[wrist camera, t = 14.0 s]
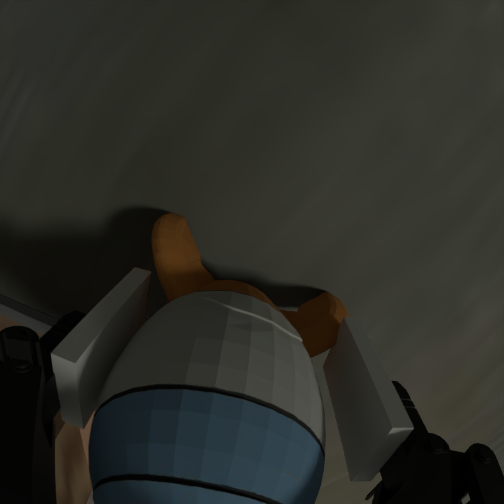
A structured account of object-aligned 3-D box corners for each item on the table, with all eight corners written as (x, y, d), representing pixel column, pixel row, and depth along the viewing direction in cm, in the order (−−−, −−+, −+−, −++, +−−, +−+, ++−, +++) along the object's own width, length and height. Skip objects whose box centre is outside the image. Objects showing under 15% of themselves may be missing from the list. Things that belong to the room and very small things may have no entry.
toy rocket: (214, 383, 21) (95, 564, 6) (134, 243, 20) (-86, 334, 5) (361, 331, 17) (374, 599, 3) (277, 159, 17) (31, 87, 2)
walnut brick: (-31, 351, 14) (-100, 418, 6) (75, 406, 14) (14, 513, 7) (3, 440, 17) (-37, 501, 9) (93, 485, 17) (63, 562, 10)
